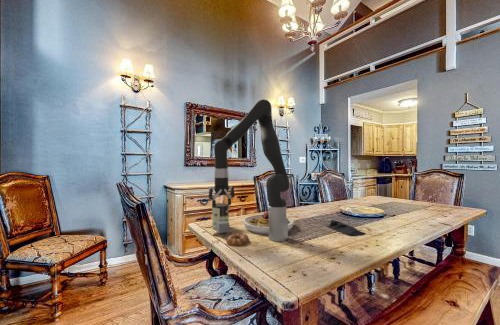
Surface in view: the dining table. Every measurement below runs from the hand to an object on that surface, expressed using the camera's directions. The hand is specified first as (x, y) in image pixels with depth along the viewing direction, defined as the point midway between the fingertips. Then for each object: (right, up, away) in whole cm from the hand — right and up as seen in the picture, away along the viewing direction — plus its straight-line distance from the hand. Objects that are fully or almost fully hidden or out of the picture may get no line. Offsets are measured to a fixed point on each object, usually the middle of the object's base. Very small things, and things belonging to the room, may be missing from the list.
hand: (221, 206), depth 125 cm
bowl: (+27, -16, +14) cm, 34 cm away
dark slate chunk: (+71, -17, +7) cm, 74 cm away
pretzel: (+9, -17, -11) cm, 22 cm away
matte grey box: (0, -14, +1) cm, 14 cm away
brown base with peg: (0, -16, +1) cm, 16 cm away
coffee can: (-3, -16, +15) cm, 22 cm away
